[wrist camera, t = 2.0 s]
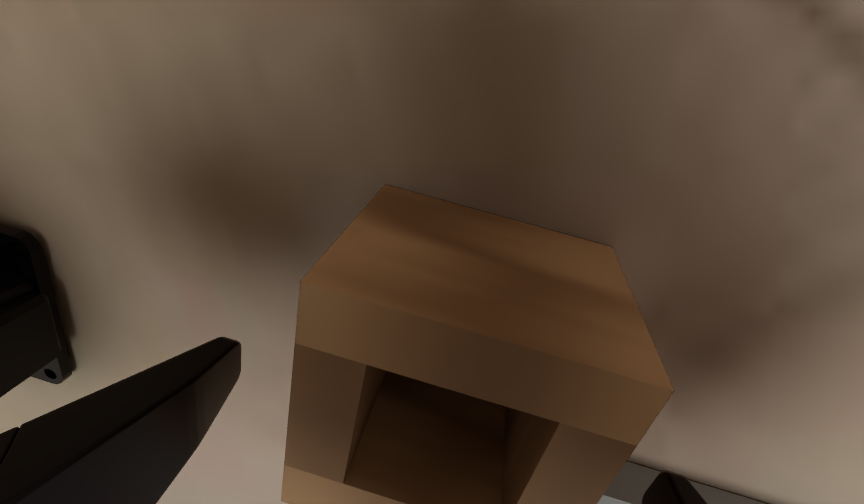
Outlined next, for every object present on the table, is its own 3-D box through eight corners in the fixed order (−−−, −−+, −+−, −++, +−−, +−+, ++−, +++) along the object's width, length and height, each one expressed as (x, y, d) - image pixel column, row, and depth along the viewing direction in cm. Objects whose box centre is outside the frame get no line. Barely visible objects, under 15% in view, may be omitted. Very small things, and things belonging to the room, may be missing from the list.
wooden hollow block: (354, 355, 14) (280, 500, 10) (385, 184, 11) (300, 281, 7) (534, 409, 14) (541, 585, 9) (611, 247, 11) (674, 391, 7)
